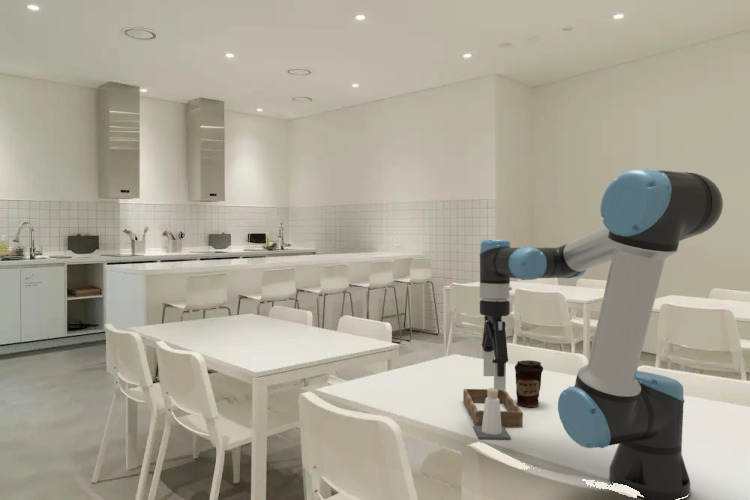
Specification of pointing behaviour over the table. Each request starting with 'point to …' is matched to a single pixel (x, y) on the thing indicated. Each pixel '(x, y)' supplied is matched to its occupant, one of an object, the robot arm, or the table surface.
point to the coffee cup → (528, 382)
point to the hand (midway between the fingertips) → (493, 382)
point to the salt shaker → (492, 414)
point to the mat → (502, 436)
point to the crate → (507, 417)
